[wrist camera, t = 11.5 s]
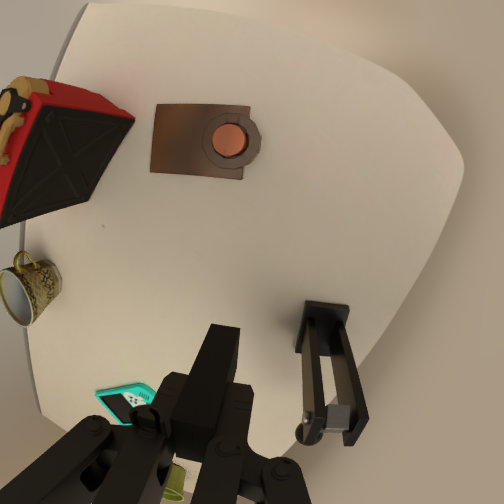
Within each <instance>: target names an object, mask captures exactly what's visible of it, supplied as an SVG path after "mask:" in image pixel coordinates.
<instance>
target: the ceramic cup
mask: <svg viewBox="0 0 504 504" xmlns="http://www.w3.org/2000/svg"><path fill="white" fill-rule="evenodd" d="M23 253H24V254H25V255H26V256H27V258H28V259H29V260H30V261H31V262H32V263H29V264H25V265H19V257H20V255H21V254H23ZM61 281H62V278H61V276H60V274H59V272H58V270H57V268H56V266H55V265H54V264H53V263H51V262H50V261H48V260H41V261H38V262H35V261H34V260H33V259H31V258H30V256H29V255H28V253H27V252H26V251H20V252H18V253H17V254H16V256H15V258H14V267H9V268H6V269H3V270H1V271H0V300H1V303H2V305H3V307H4V309H5V311H6V312H7V313H8V315H9V316H10V318H11V319H12V320H13V321H14V322H15V323H16V324H18V325H19V326H21V327H29V326H30V325H31V324H32V323H33V322H34V321H35V320H36V319H37V318H38V317H39V316H40V315H41V313H42V312H43V311H44V309H45V308H46V307H47V306H48V305H49V304H50V303H51V301H52V300H53V299H54V298H55V297H56V296H57V295H58V294H59V293H60V291H61Z"/></svg>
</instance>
